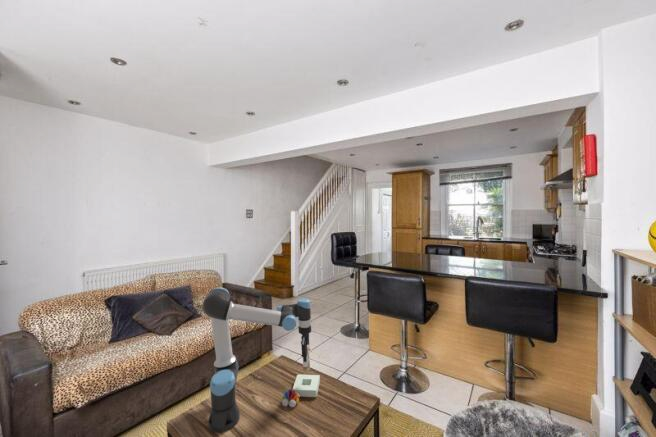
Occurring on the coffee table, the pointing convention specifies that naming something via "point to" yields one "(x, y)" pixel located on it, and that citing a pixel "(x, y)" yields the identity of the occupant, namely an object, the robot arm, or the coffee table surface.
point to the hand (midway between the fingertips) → (306, 363)
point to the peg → (308, 360)
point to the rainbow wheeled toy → (290, 398)
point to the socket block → (306, 385)
